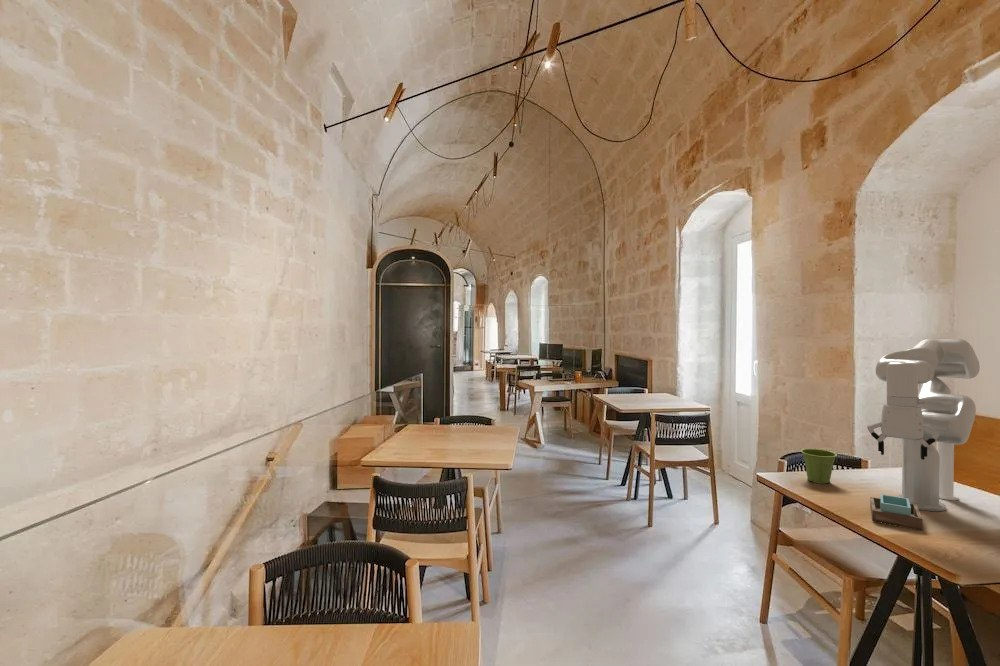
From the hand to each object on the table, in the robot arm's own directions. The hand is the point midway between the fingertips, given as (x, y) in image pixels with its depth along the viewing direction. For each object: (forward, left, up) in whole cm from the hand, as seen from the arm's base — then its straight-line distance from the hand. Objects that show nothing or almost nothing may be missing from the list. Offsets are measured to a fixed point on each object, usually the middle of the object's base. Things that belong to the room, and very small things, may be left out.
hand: (902, 456), depth 150 cm
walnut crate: (+1, -2, -20) cm, 20 cm away
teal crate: (+2, -2, -19) cm, 19 cm away
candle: (-34, +14, -20) cm, 42 cm away
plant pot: (-30, -23, -20) cm, 42 cm away
